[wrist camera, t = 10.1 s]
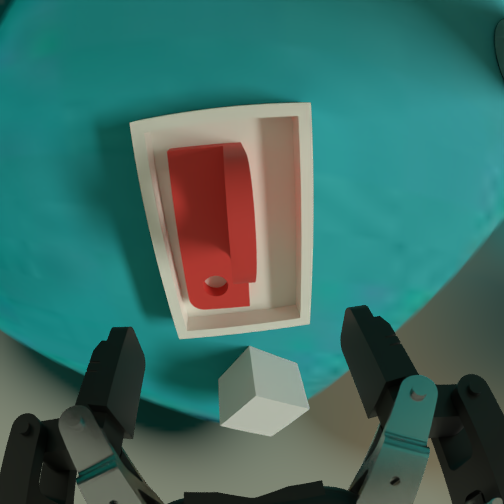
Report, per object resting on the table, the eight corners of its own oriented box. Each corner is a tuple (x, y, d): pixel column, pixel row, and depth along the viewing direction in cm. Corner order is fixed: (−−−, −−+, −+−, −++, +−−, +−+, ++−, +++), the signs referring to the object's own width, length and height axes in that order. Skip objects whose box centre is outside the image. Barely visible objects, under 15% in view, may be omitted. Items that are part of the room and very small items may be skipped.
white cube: (249, 344, 28) (256, 395, 23) (297, 362, 30) (309, 408, 25) (218, 378, 30) (220, 426, 25) (264, 392, 32) (271, 436, 27)
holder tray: (300, 102, 18) (310, 102, 16) (302, 305, 26) (309, 323, 24) (140, 119, 18) (129, 122, 15) (181, 319, 26) (179, 339, 23)
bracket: (169, 148, 18) (138, 180, 11) (240, 142, 18) (253, 169, 11) (192, 301, 24) (185, 380, 17) (248, 297, 24) (260, 374, 17)
